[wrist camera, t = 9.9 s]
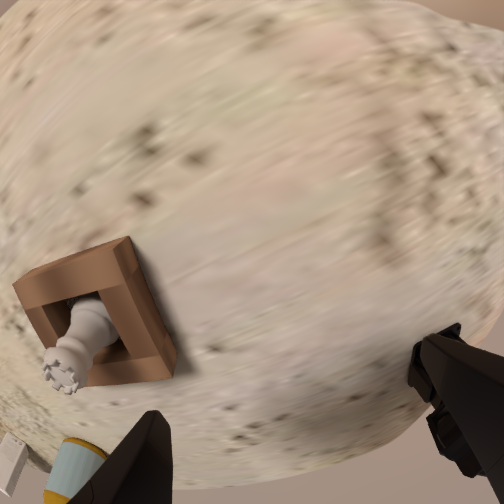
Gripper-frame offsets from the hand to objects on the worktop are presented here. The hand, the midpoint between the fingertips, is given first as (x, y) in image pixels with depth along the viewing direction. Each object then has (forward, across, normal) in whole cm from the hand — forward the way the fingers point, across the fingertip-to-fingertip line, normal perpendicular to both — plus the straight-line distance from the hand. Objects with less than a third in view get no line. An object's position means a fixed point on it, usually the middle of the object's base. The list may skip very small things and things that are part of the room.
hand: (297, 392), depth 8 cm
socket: (+12, +13, +1) cm, 18 cm away
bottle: (+12, +29, +21) cm, 38 cm away
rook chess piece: (+12, +13, +1) cm, 18 cm away
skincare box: (+12, +49, +23) cm, 55 cm away
